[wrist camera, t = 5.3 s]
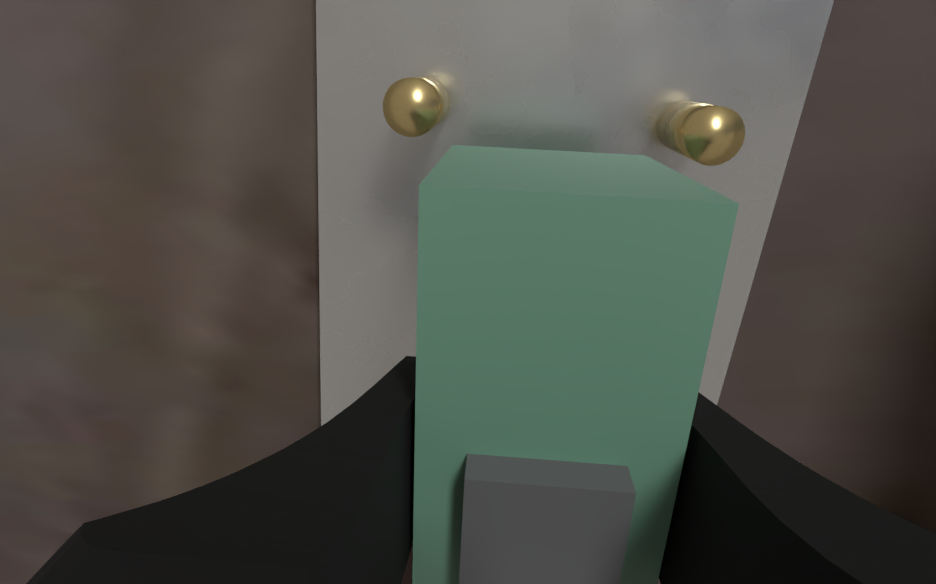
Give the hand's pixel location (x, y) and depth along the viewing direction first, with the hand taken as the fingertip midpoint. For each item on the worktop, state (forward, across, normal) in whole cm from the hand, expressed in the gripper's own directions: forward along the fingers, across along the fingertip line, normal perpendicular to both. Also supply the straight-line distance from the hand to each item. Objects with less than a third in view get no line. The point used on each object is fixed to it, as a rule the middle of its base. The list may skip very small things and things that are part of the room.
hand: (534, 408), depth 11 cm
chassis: (+6, 0, 0) cm, 6 cm away
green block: (+2, 0, -1) cm, 2 cm away
